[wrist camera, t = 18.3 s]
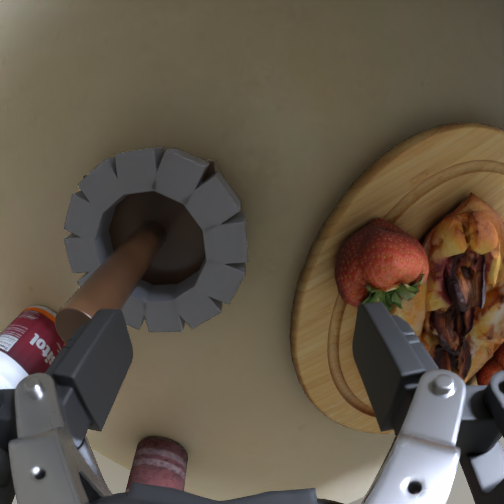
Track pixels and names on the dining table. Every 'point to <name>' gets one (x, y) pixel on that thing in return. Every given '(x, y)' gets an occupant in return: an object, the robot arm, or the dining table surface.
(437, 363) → the wooden plate
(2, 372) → the pill bottle
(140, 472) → the can
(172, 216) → the peg stand
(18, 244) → the dining table surface
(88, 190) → the gear
